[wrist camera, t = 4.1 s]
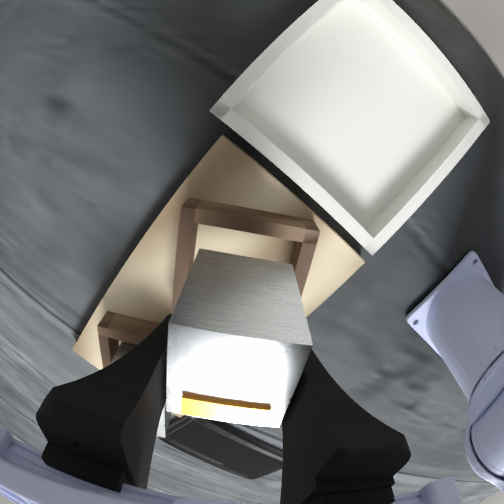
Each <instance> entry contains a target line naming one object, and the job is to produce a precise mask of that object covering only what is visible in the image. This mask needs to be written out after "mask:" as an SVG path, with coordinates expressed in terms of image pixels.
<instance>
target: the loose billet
mask: <svg viewBox="0 0 504 504" xmlns="http://www.w3.org/2000/svg"><path fill="white" fill-rule="evenodd" d="M312 346H313V344H312V340H311V336H310V332H309V328H308V324H307V320H306V316H305V312H304V308H303V304H302V300H301V296H300V292H299V288H298V284H297V280H296V277H295V273H294V269H293V265H292V264H286V263H281V262H275V261H269V260H263V259H258V258H252V257H246V256H241V255H235V254H229V253H224V252H218V251H212V250H207V249H201V248H199V251H198V253H197V255H196V258H195V260H194V262H193V265H192V267H191V269H190V272H189V274H188V277H187V279H186V281H185V284H184V286H183V289H182V291H181V293H180V296H179V298H178V301H177V303H176V306H175V308H174V310H173V313H172V315H171V318H170V320H169V324H168V346H167V384H166V411H168V412H173V413H178V414H183V415H188V416H193V417H199V418H205V419H211V420H217V421H224V422H231V423H239V424H248V425H257V426H268V427H279V426H280V423H281V421H282V419H283V417H284V414H285V412H286V410H287V408H288V405H289V403H290V401H291V398H292V396H293V394H294V391H295V389H296V387H297V384H298V382H299V379H300V377H301V374H302V372H303V369H304V367H305V364H306V362H307V359H308V357H309V354H310V352H311V349H312Z"/></svg>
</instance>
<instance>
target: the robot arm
mask: <svg viewBox="0 0 504 504" xmlns="http://www.w3.org/2000/svg"><path fill="white" fill-rule="evenodd" d="M474 260H475V261H474ZM473 261H474V262H473ZM171 315H172V314H169V315H167V316H166V317H165V318H164V320H163V321H162V322H161V323H160V324H159V325H158V326H157V327H156V328H155V329H154V330H153V331H152V332H151V333H150V334H149V335H148V336H147V337H146V338H145V339H144V340H142V341H141V342H140V343H139V344H138V345H136V346H135V347H134V348H133V349H132V350H130V351H129V352H128V353H126V354H125V355H124V356H122V357H121V358H119V359H118V360H116V361H115V362H113V363H112V364H110V365H108V366H106V367H105V368H103V369H101V370H99V371H97V372H95V373H93V374H91V375H88V376H86V377H84V378H81V379H79V380H76V381H73V382H70V383H67V384H63V385H60V386H56V387H53V388H52V390H51V391H50V392H49V393H48V395H47V396H46V398H45V399H44V401H43V403H42V404H41V406H40V408H39V410H38V411H37V413H36V420H37V422H38V425H39V427H40V429H41V430H42V432H43V434H44V436H45V437H46V439H47V441H48V443H47V445H46V447H45V449H44V451H43V453H42V452H40V451H38V450H36V449H34V448H32V447H30V446H28V445H26V444H24V443H22V442H20V441H18V440H16V439H14V438H13V435H12V434H11V432H10V431H9V430H8V428H6V427H5V426H4V425H3V424H1V423H0V494H1V495H3V496H5V497H6V498H8V499H9V500H11V501H13V502H14V503H16V504H260V503H244V502H232V501H222V500H214V499H206V498H195V497H186V498H183V497H178V496H173V495H168V494H163V493H159V492H154V491H150V490H146V489H147V483H148V477H149V471H150V465H151V460H152V454H153V449H154V444H155V439H156V435H157V430H158V426H159V421H160V417H161V414H162V411H163V408H164V405H165V402H166V384H167V346H168V324H169V320H170V318H171ZM406 320H407V322H408V324H409V325H410V326H411V327H412V328H413V329H414V330H415V331H416V332H417V333H418V334H419V335H420V336H421V337H422V338H423V339H424V340H425V341H426V342H427V343H428V344H429V345H430V346H431V347H432V348H433V349H434V350H435V351H436V352H437V353H438V354H439V355H440V356H441V357H442V358H443V360H444V361H445V363H446V365H447V366H448V368H449V369H450V371H451V373H452V374H453V376H454V378H455V379H456V381H457V383H458V384H459V386H460V388H461V389H462V391H463V393H464V394H465V396H466V398H467V400H468V401H469V403H470V407H469V408H468V410H467V411H466V412H465V415H466V417H467V419H468V420H469V422H470V425H469V426H468V427H467V429H466V431H465V434H464V448H465V452H466V456H467V459H468V462H469V464H470V465H471V467H472V469H473V470H474V471H475V472H476V473H477V474H478V475H479V476H480V477H481V478H483V479H485V480H487V481H488V482H490V483H492V484H494V485H495V486H497V487H498V488H499V489H500V490H501V491H502V492H503V493H504V295H503V294H502V293H501V292H500V291H499V290H498V289H497V288H496V287H494V285H493V283H492V281H491V279H490V277H489V275H488V273H487V271H486V270H485V268H484V266H483V264H482V262H481V261H480V259H479V257H478V255H477V254H476V253H475V252H474V251H470V252H469V253H468V254H467V255H466V256H465V257H464V258H463V259H462V261H461V262H460V263H459V264H458V265H457V266H456V267H455V268H454V269H453V270H452V271H451V272H450V273H449V275H448V276H447V277H446V278H445V279H444V280H443V281H442V282H441V283H440V284H439V285H438V286H437V287H436V288H435V289H434V290H433V291H432V292H431V293H430V294H429V295H428V296H427V297H426V298H425V299H424V300H423V301H422V302H421V303H420V304H419V305H418V306H416V307H415V308H414V309H413V310H412V311H411V312H410V313H409V314H408V315H407V317H406ZM415 320H416V321H415ZM414 321H415V322H414ZM282 430H283V467H282V487H281V500H280V504H463V503H462V501H461V498H460V495H459V492H458V489H457V487H456V484H455V481H454V479H453V477H452V476H450V477H447V478H443V479H440V480H436V481H433V482H431V483H429V484H427V485H426V486H424V487H423V488H422V489H421V490H420V491H418V492H413V493H409V494H404V495H399V496H394V494H393V491H392V487H391V486H393V485H394V483H395V481H394V478H393V476H394V475H395V474H396V473H397V472H398V471H399V470H400V469H401V468H402V467H403V466H404V465H405V464H406V463H407V462H408V461H409V459H410V457H411V452H410V449H409V446H408V443H407V441H406V438H405V436H404V434H402V433H400V432H398V431H396V430H394V429H393V428H391V427H389V426H387V425H385V424H384V423H382V422H381V421H379V420H378V419H376V418H375V417H373V416H372V415H371V414H369V413H368V412H367V411H365V410H364V409H363V408H362V407H361V406H359V405H358V404H357V403H356V402H355V401H354V400H353V399H351V398H350V397H349V396H348V395H347V394H346V393H345V392H344V391H343V390H342V389H341V387H340V386H339V385H338V384H337V383H336V382H335V381H334V379H333V378H332V377H331V376H330V374H329V373H328V372H327V371H326V369H325V368H324V366H323V365H322V364H321V362H320V361H319V359H318V358H317V356H316V355H315V353H314V352H313V350H312V349H311V352H310V354H309V357H308V359H307V362H306V364H305V367H304V369H303V372H302V374H301V377H300V379H299V382H298V384H297V387H296V389H295V391H294V394H293V396H292V398H291V401H290V403H289V405H288V408H287V410H286V412H285V414H284V417H283V419H282Z"/></svg>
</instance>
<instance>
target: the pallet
mask: <svg viewBox="0 0 504 504" xmlns="http://www.w3.org/2000/svg"><path fill="white" fill-rule="evenodd" d="M199 248H201V249H207V250H212V251H218V252H224V253H229V254H235V255H241V256H246V257H252V258H258V259H263V260H269V261H275V262H281V263H286V264H292V265H293V269H294V273H295V277H296V280H297V284H298V288H299V292H300V296H301V300H302V304H303V308H304V312H305V316H306V317H307V316H308V315H309V314H310V313H311V312H313V311H314V310H315V309H316V308H317V307H318V306H319V305H320V304H321V303H323V302H324V301H325V300H326V299H327V298H328V297H329V296H330V295H331V294H332V293H333V292H334V291H336V290H337V289H338V288H339V287H340V286H341V285H342V284H343V283H344V282H345V281H346V280H347V279H348V278H349V277H350V276H351V275H352V274H353V273H354V272H356V271H357V270H358V269H359V268H360V267H361V266H362V265H363V264H364V263H365V261H364V260H363V258H362V257H361V256H360V255H359V254H358V253H357V252H356V251H355V250H354V249H353V248H352V247H351V246H350V245H349V244H348V243H347V242H346V241H345V240H344V239H343V238H342V237H341V236H340V235H338V234H337V233H336V232H335V231H334V230H333V229H332V228H331V227H330V226H329V225H328V224H327V223H326V222H325V221H324V220H322V219H321V218H320V217H319V216H318V215H317V214H316V213H315V212H314V211H313V210H312V209H310V208H309V207H308V206H307V205H306V204H305V203H304V202H303V201H302V200H300V199H299V198H298V197H297V196H296V195H295V194H294V193H293V192H291V191H290V190H289V189H288V188H287V187H286V186H285V185H283V184H282V183H281V182H280V181H279V180H278V179H277V178H275V177H274V176H273V175H272V174H271V173H270V172H268V171H267V170H266V169H265V168H264V167H263V166H261V165H260V164H259V163H258V162H257V161H255V160H254V159H253V158H252V157H251V156H249V155H248V154H247V153H246V152H245V151H243V150H242V149H241V148H240V147H239V146H237V145H236V144H235V143H234V142H232V141H231V140H230V139H229V138H227V137H226V136H225V135H224V134H223V135H221V137H220V138H219V139H218V140H217V141H216V143H215V144H214V145H213V146H212V147H211V149H210V150H209V151H208V152H207V153H206V155H205V156H204V157H203V158H202V160H201V161H200V162H199V163H198V165H197V166H196V167H195V168H194V170H193V171H192V172H191V173H190V175H189V176H188V177H187V178H186V180H185V181H184V182H183V184H182V185H181V186H180V187H179V189H178V190H177V191H176V193H175V194H174V195H173V197H172V198H171V199H170V201H169V202H168V203H167V205H166V206H165V207H164V209H163V210H162V211H161V213H160V214H159V215H158V217H157V218H156V220H155V221H154V222H153V224H152V225H151V227H150V228H149V229H148V231H147V232H146V234H145V235H144V236H143V238H142V239H141V241H140V242H139V244H138V245H137V247H136V248H135V249H134V251H133V252H132V254H131V255H130V257H129V258H128V260H127V261H126V263H125V264H124V266H123V267H122V269H121V270H120V272H119V273H118V275H117V276H116V278H115V280H114V281H113V283H112V284H111V286H110V287H109V289H108V290H107V292H106V294H105V295H104V297H103V298H102V300H101V302H100V303H99V305H98V307H97V308H96V310H95V312H94V313H93V315H92V317H91V318H90V320H89V322H88V323H87V325H86V327H85V328H84V330H83V332H82V334H81V335H80V337H79V339H78V341H77V342H76V344H75V346H74V348H73V351H74V352H76V353H77V354H78V355H80V356H81V357H82V358H84V359H85V360H87V361H88V362H89V363H91V364H92V365H94V366H95V367H97V368H98V369H100V370H101V369H103V368H105V367H106V366H108V365H110V364H111V362H112V360H113V358H114V356H115V354H116V352H117V350H118V348H119V346H120V344H121V342H122V341H124V342H128V343H132V344H136V345H138V344H139V343H140V342H141V341H142V340H144V339H145V338H146V337H147V336H148V335H149V334H150V333H151V332H152V331H153V330H154V329H155V328H156V327H157V326H158V325H159V324H160V323H161V322H162V321H163V320H164V318H165V317H166V316H167V315H169V314H172V313H173V310H174V308H175V306H176V303H177V301H178V298H179V296H180V293H181V291H182V289H183V286H184V284H185V281H186V279H187V277H188V274H189V272H190V269H191V267H192V265H193V262H194V260H195V258H196V255H197V253H198V251H199ZM171 413H172V414H174V415H176V416H178V417H180V418H181V417H182V416H183V414H178V413H173V412H171Z"/></svg>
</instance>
